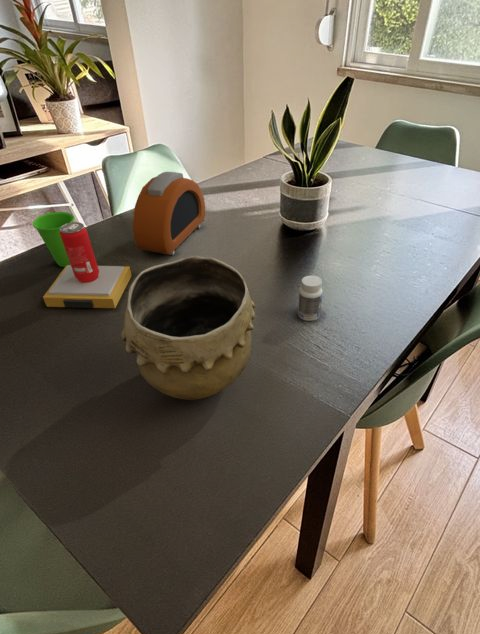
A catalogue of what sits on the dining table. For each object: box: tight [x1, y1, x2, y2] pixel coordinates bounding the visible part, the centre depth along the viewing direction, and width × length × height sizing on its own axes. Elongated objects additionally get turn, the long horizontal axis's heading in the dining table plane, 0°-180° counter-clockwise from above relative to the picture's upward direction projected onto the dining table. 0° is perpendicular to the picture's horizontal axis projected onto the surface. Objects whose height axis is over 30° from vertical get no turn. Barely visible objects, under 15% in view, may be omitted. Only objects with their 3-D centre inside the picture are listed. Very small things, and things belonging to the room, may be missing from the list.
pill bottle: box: [297, 275, 324, 322], centre depth 87 cm, size 5×5×8 cm
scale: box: [42, 265, 133, 309], centre depth 95 cm, size 15×14×3 cm
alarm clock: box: [132, 171, 206, 256], centre depth 109 cm, size 23×9×17 cm, turn 161°
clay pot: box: [120, 255, 256, 401], centre depth 69 cm, size 21×21×20 cm
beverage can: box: [60, 221, 99, 283], centre depth 91 cm, size 5×5×12 cm
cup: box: [32, 211, 75, 268], centre depth 102 cm, size 9×9×11 cm
